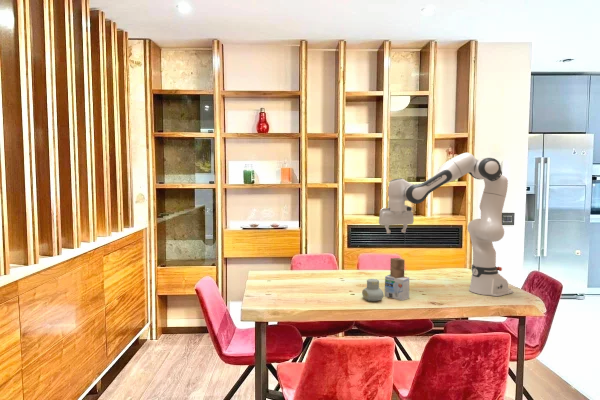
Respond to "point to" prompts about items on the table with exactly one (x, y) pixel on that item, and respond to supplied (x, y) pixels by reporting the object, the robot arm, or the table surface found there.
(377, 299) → the air freshener
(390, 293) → the light bulb box
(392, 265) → the walnut block
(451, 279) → the table surface
